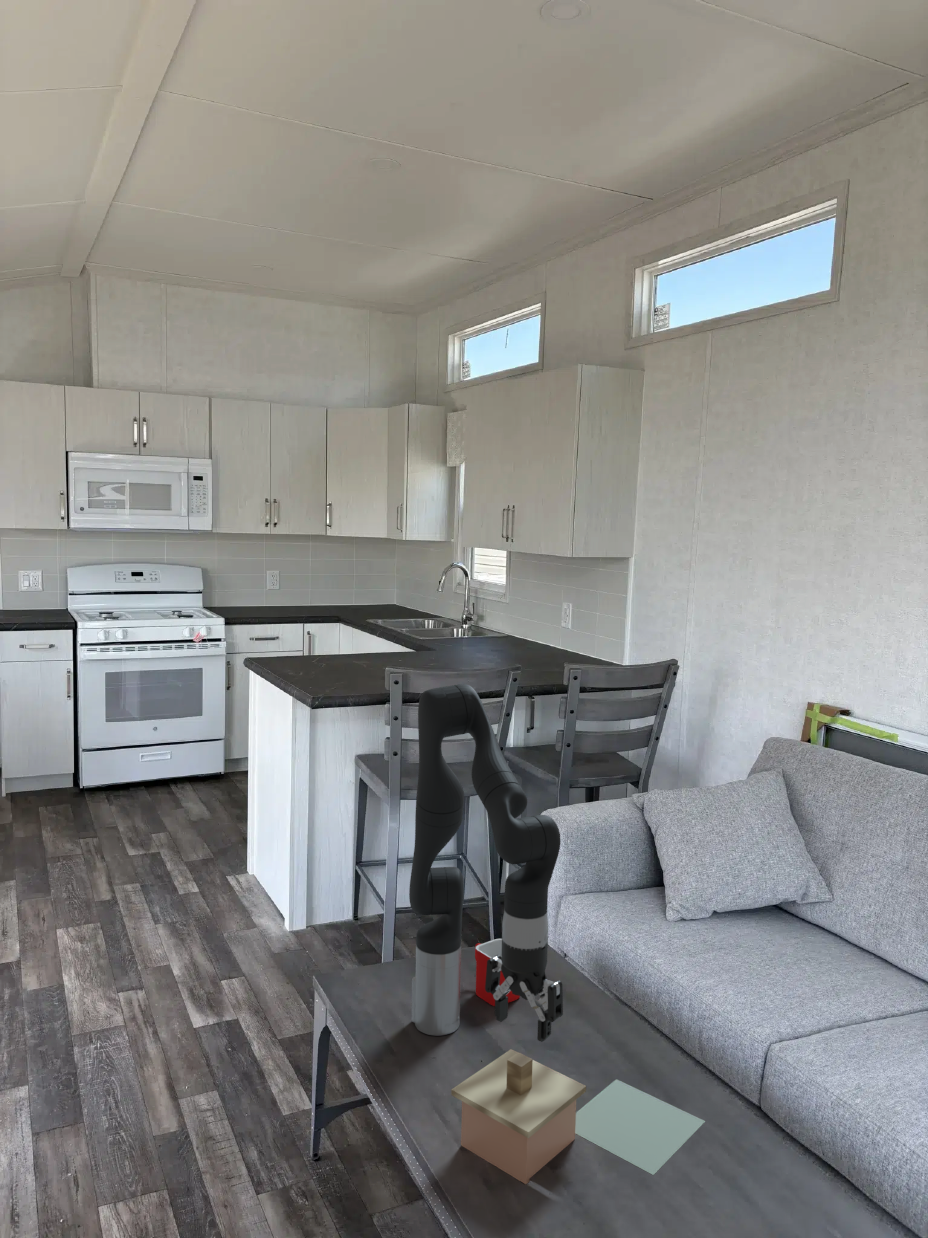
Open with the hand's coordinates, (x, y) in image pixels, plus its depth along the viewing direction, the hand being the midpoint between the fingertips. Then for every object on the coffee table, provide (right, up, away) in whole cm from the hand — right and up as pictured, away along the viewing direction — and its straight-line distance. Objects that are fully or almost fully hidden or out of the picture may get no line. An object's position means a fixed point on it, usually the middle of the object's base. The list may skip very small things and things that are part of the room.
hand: (522, 1029), depth 155 cm
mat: (+20, -20, +7) cm, 29 cm away
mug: (-3, -15, +52) cm, 54 cm away
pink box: (-1, -20, +2) cm, 20 cm away
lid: (0, -11, +1) cm, 11 cm away
